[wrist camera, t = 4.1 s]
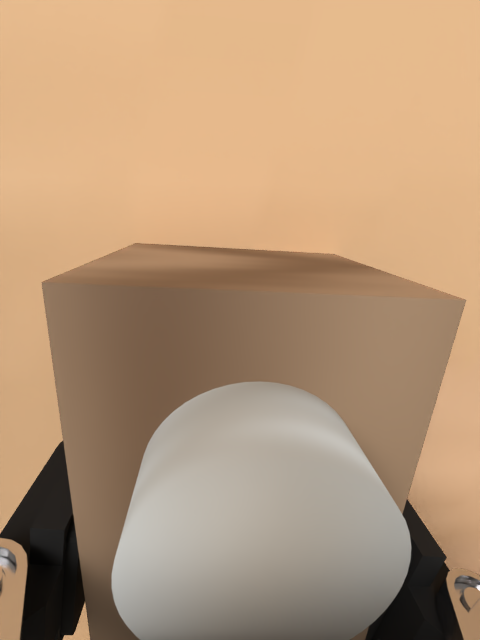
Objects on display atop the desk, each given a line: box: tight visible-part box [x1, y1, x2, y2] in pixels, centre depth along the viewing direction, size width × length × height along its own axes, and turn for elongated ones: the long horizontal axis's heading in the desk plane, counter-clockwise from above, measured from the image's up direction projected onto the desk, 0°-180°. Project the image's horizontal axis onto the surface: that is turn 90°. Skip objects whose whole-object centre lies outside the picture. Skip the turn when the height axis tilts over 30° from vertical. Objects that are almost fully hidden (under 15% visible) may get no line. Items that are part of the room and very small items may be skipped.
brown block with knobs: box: [42, 243, 466, 640], centre depth 8 cm, size 6×12×6 cm, turn 176°
